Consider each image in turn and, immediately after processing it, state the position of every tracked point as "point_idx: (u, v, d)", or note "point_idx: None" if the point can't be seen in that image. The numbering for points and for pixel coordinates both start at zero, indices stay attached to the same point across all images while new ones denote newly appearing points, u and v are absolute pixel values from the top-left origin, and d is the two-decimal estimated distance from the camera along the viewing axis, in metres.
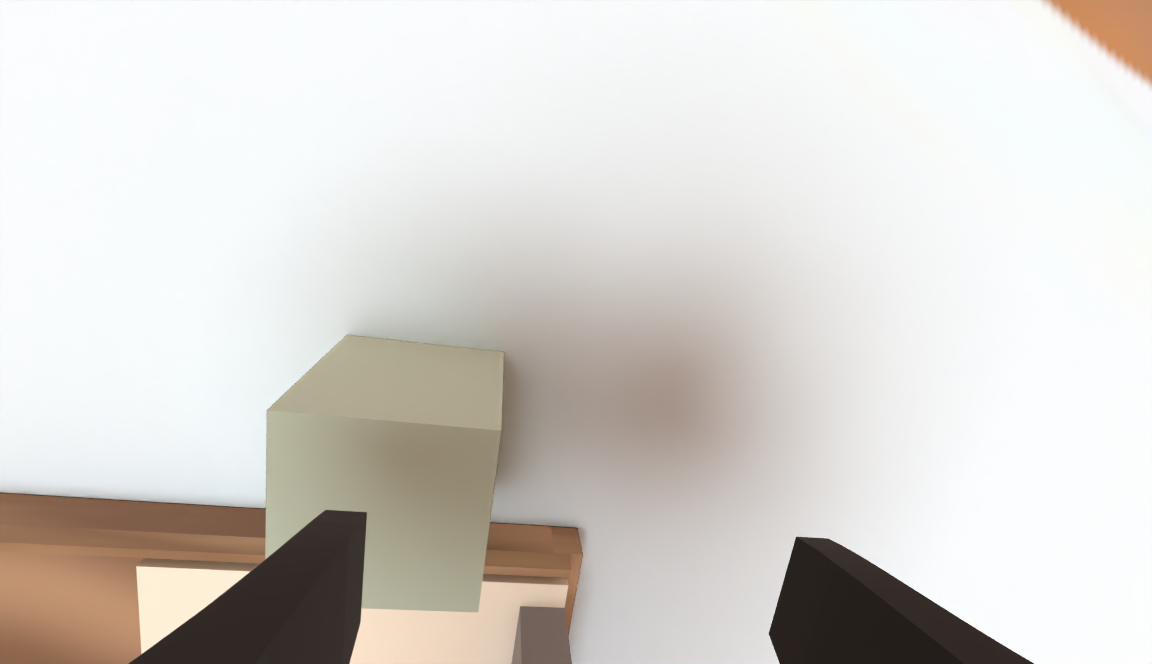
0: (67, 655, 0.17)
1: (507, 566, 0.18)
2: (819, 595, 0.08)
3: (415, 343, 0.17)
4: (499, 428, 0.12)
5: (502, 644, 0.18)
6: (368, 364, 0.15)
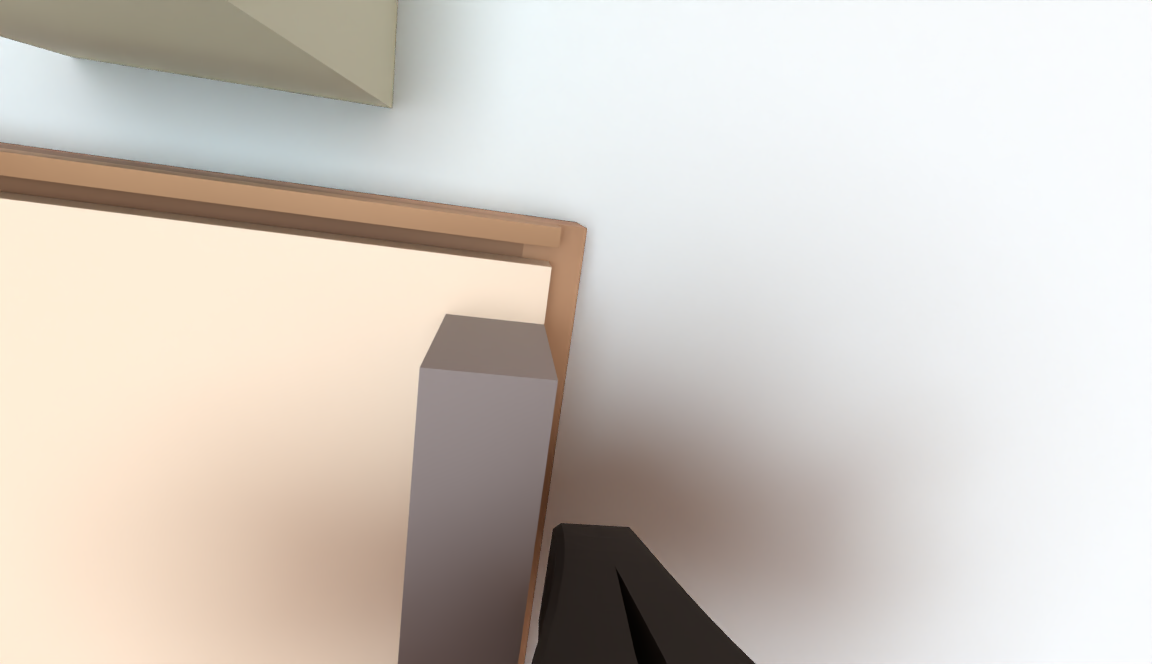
0: None
1: (418, 211, 0.08)
2: None
3: None
4: None
5: (411, 408, 0.08)
6: None
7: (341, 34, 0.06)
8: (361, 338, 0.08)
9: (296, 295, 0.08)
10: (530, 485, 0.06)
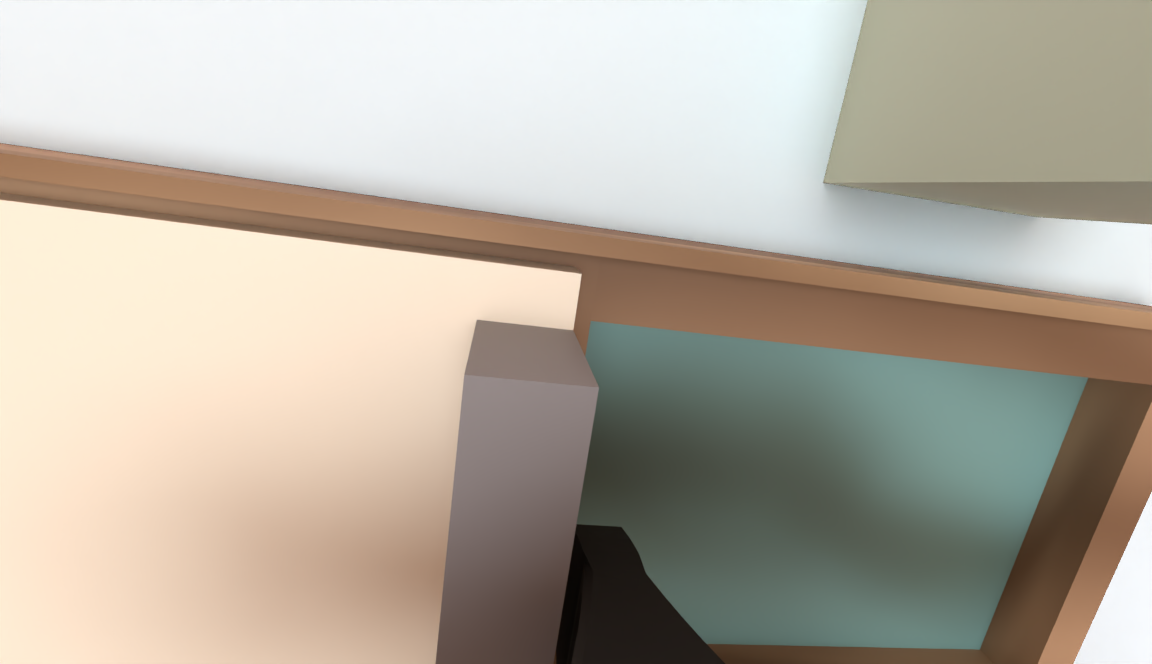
0: None
1: None
2: (575, 585, 0.08)
3: None
4: None
5: (441, 412, 0.09)
6: None
7: None
8: (393, 343, 0.08)
9: (330, 301, 0.08)
10: (569, 490, 0.06)
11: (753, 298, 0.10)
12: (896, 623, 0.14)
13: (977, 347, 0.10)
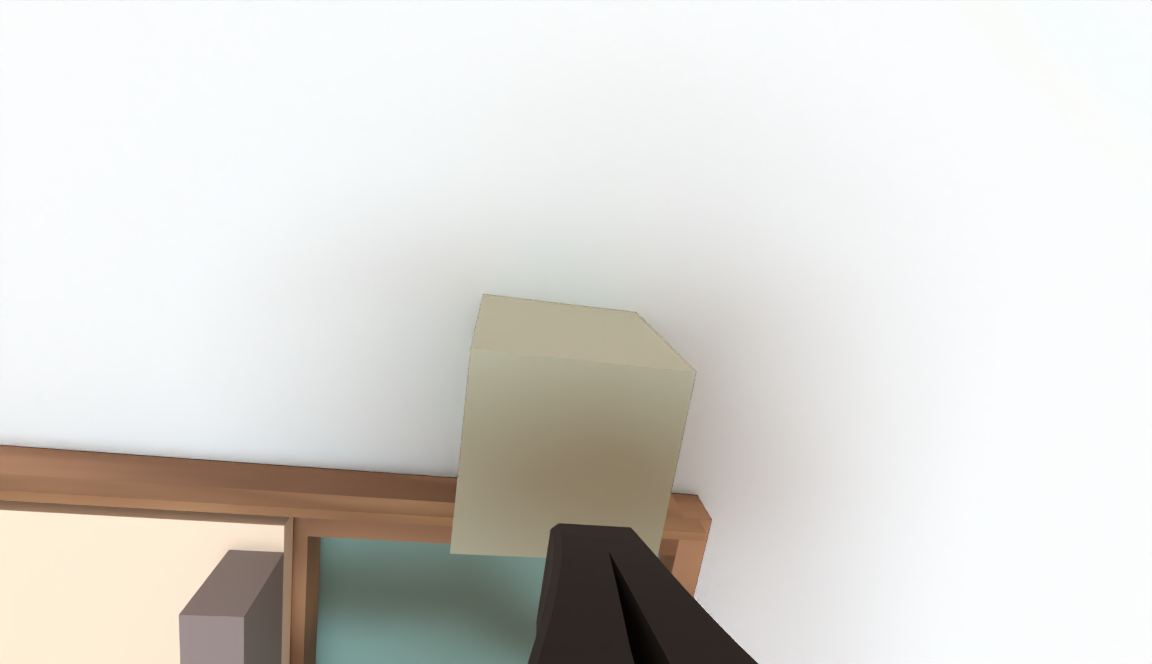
0: None
1: None
2: None
3: (550, 303, 0.17)
4: (692, 370, 0.12)
5: None
6: (525, 317, 0.15)
7: None
8: (184, 562, 0.16)
9: (148, 545, 0.15)
10: (237, 659, 0.14)
11: None
12: None
13: None
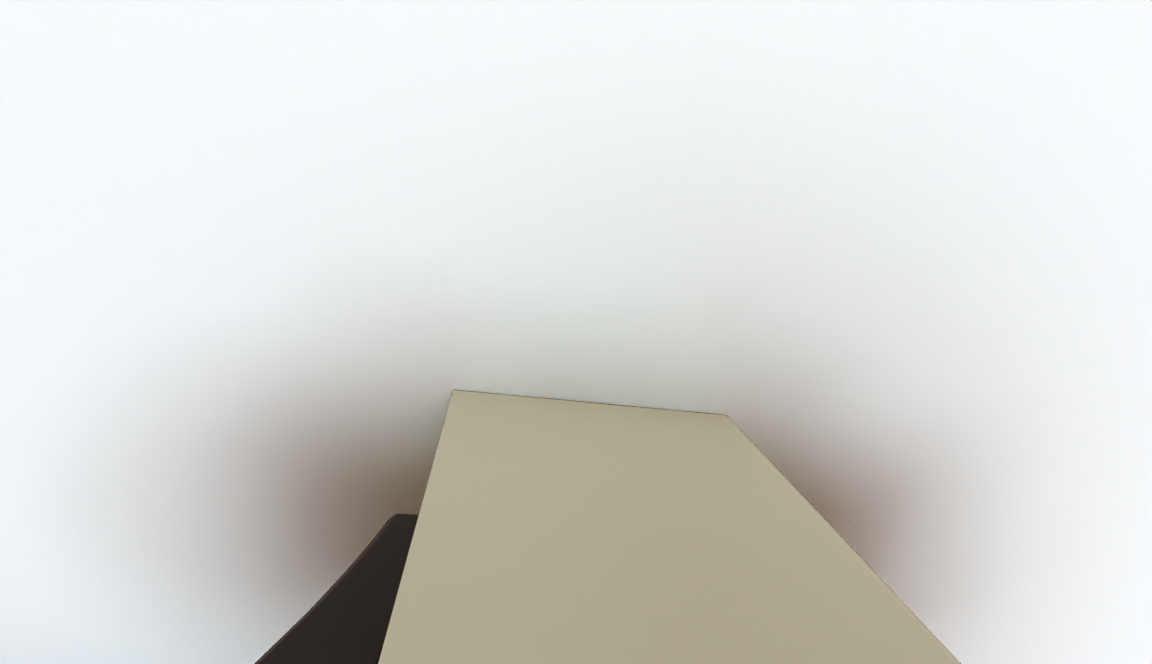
0: None
1: None
2: None
3: (577, 405, 0.09)
4: None
5: None
6: (532, 471, 0.07)
7: None
8: None
9: None
10: None
11: None
12: None
13: None
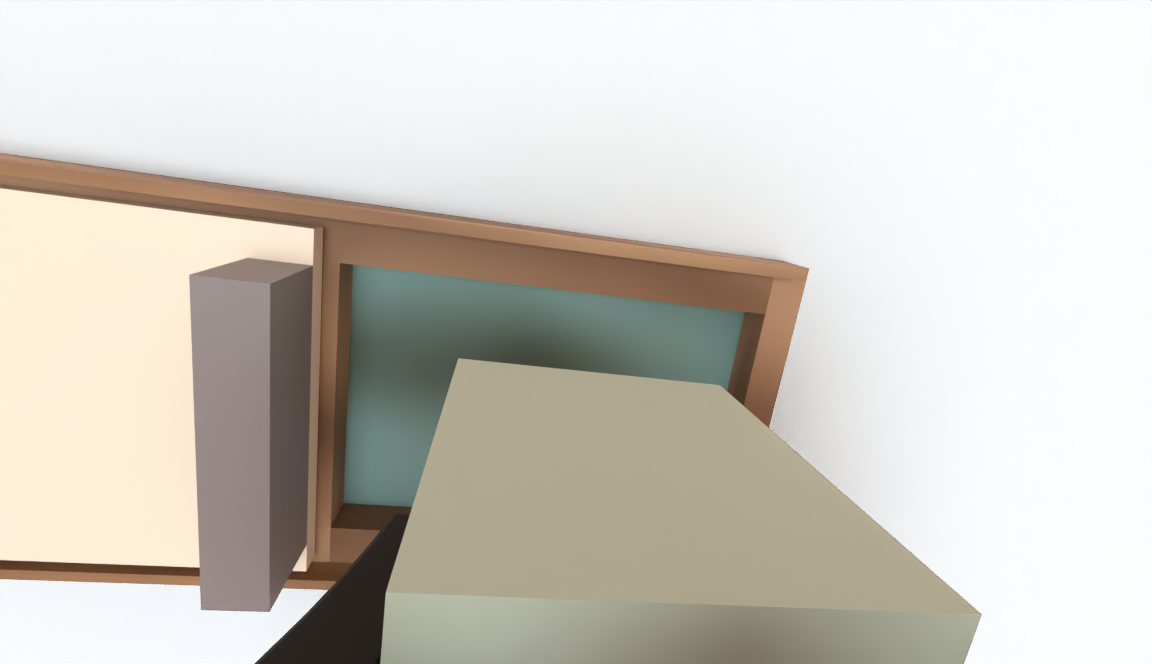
0: None
1: (735, 262, 0.15)
2: None
3: (577, 373, 0.10)
4: (968, 606, 0.05)
5: None
6: (536, 421, 0.07)
7: None
8: (194, 272, 0.13)
9: (150, 245, 0.13)
10: (262, 345, 0.11)
11: (452, 249, 0.14)
12: None
13: (621, 284, 0.15)
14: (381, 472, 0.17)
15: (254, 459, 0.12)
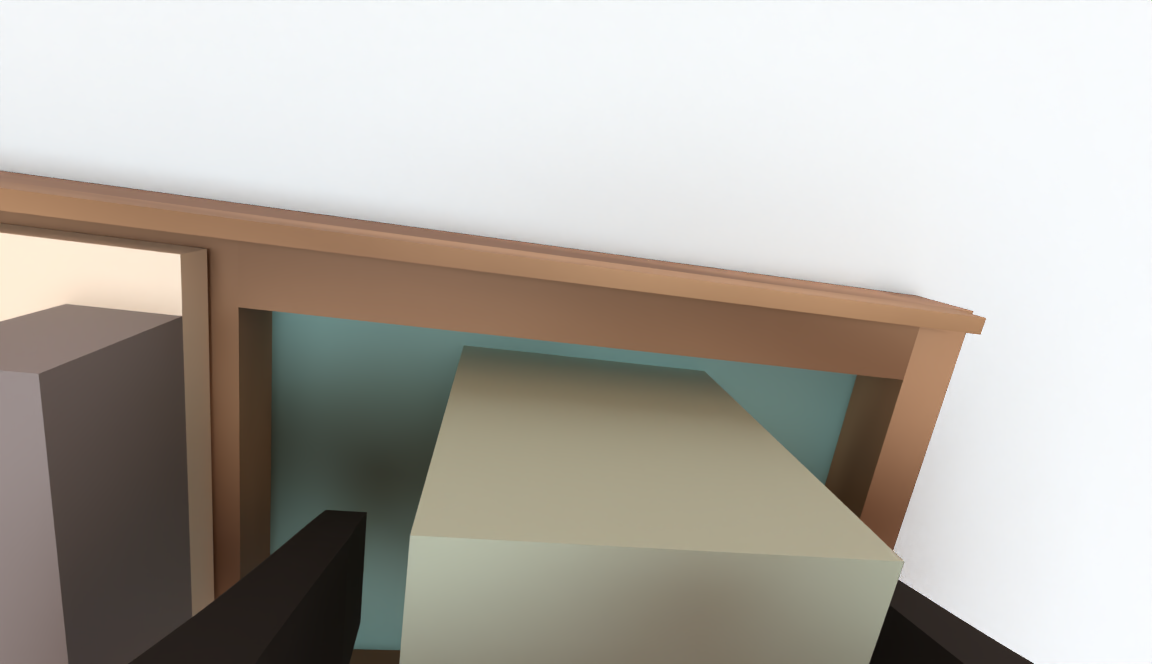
0: None
1: (874, 305, 0.09)
2: None
3: (572, 359, 0.11)
4: (894, 555, 0.06)
5: None
6: (533, 401, 0.08)
7: None
8: None
9: None
10: (34, 489, 0.06)
11: (422, 284, 0.09)
12: None
13: (689, 337, 0.10)
14: None
15: None
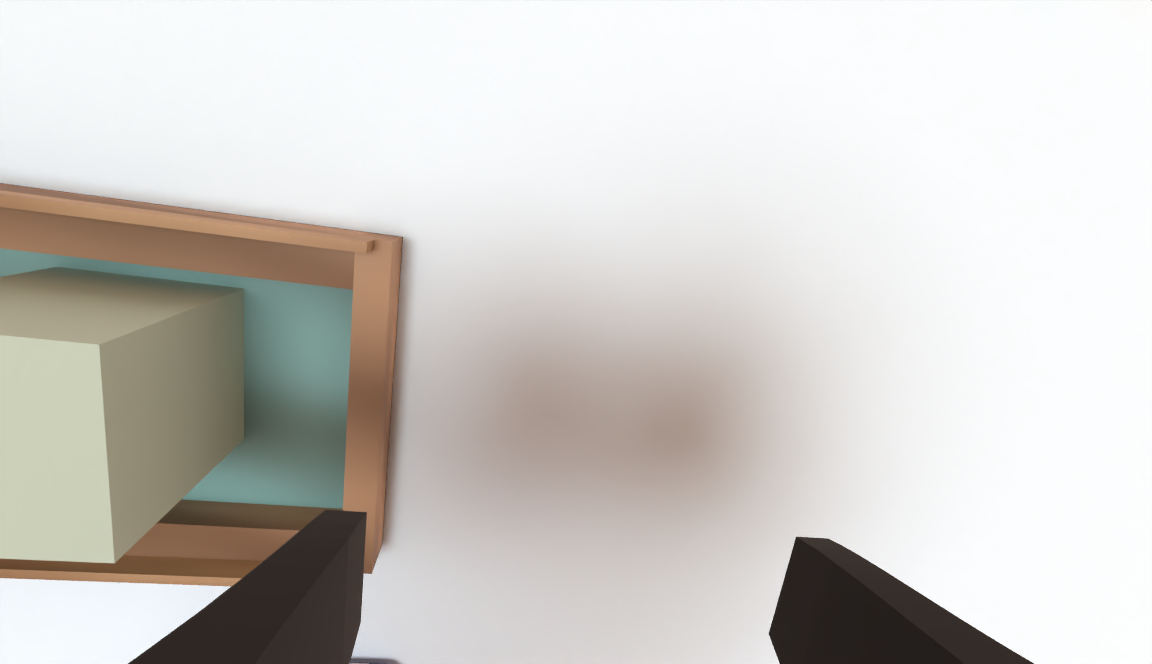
0: None
1: (284, 233, 0.14)
2: (819, 595, 0.08)
3: (134, 277, 0.16)
4: (99, 343, 0.11)
5: None
6: (31, 288, 0.13)
7: (189, 476, 0.14)
8: None
9: None
10: None
11: None
12: (268, 484, 0.18)
13: (182, 256, 0.15)
14: None
15: None
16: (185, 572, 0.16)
